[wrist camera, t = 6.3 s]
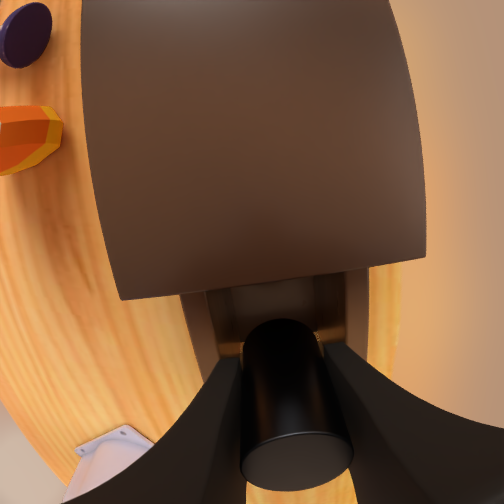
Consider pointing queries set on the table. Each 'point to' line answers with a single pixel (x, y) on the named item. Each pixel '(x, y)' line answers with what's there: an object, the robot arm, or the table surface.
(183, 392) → the table surface
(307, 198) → the cabinet
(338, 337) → the drawer
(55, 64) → the table surface
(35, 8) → the purple dumbbell
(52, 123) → the candy corn
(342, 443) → the peg
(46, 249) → the table surface
